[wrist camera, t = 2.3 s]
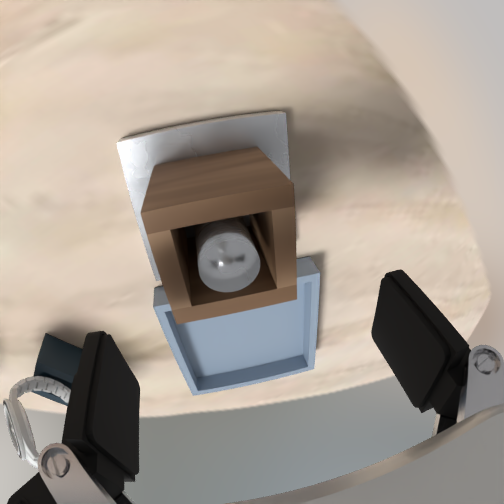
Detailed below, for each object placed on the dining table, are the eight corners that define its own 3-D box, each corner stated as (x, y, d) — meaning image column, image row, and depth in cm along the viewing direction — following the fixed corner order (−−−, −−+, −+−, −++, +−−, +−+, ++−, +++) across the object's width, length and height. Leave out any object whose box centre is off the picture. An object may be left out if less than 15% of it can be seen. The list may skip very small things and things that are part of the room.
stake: (120, 138, 15) (80, 184, 9) (279, 110, 16) (340, 137, 10) (157, 270, 20) (153, 359, 14) (288, 244, 21) (331, 321, 15)
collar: (153, 165, 15) (140, 213, 11) (257, 146, 16) (293, 184, 11) (175, 253, 19) (176, 324, 14) (266, 235, 19) (297, 299, 14)
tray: (154, 287, 21) (153, 306, 19) (309, 256, 22) (320, 272, 21) (191, 378, 27) (193, 395, 26) (307, 352, 28) (314, 368, 27)
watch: (26, 323, 20) (-10, 437, 11) (108, 359, 24) (100, 475, 15) (20, 358, 22) (-5, 457, 13) (92, 388, 26) (85, 488, 17)
